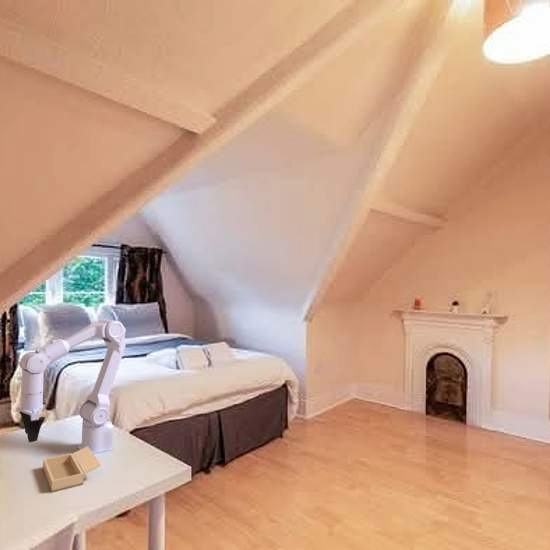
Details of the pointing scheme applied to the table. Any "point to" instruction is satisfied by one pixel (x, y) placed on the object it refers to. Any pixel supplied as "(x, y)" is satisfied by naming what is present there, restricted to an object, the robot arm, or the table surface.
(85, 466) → the lid flap
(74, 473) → the carton
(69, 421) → the table surface
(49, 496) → the table surface
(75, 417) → the table surface
